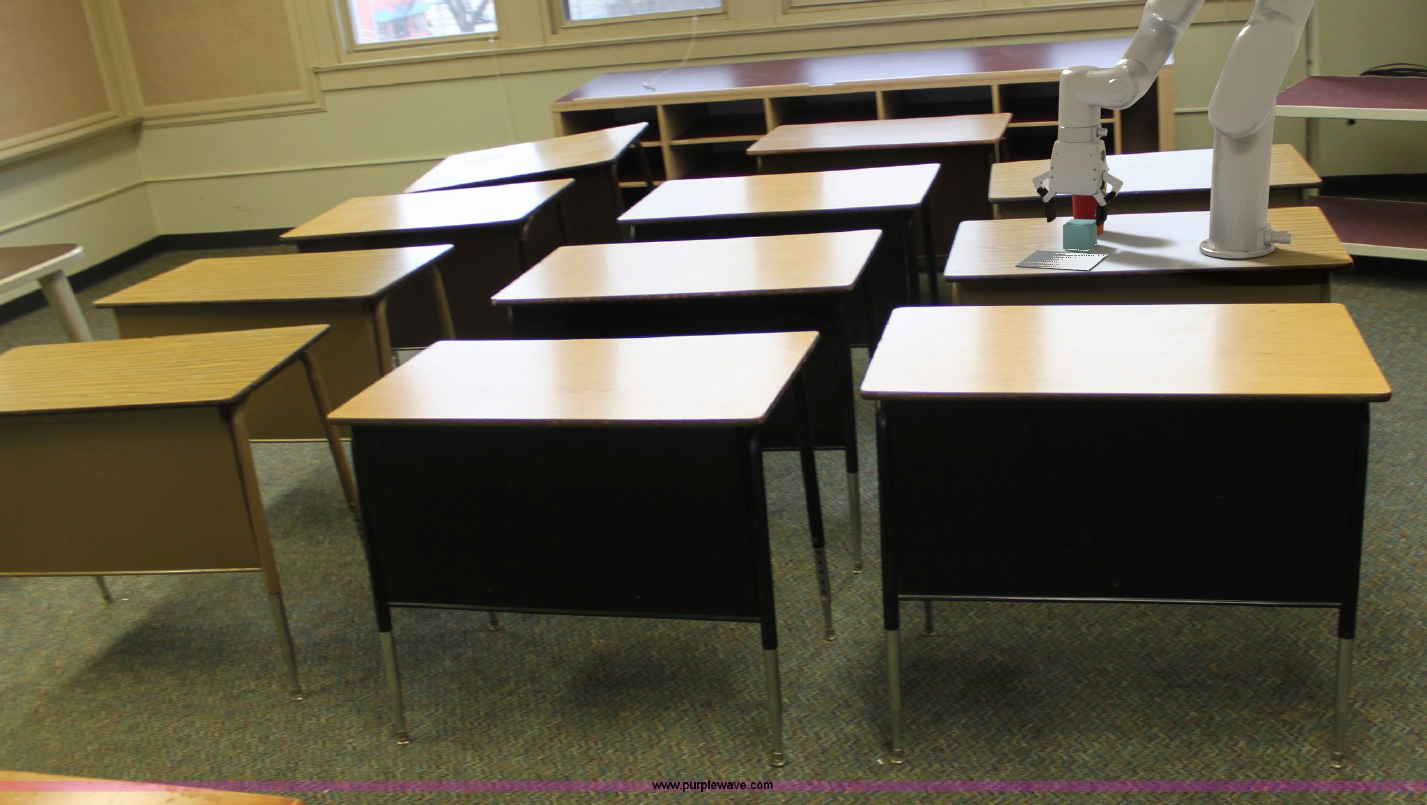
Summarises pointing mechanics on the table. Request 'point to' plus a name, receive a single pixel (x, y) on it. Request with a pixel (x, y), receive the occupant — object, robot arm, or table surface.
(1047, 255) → the slate mat
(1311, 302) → the table surface
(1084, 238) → the teal block
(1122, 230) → the table surface
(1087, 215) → the paper cup
